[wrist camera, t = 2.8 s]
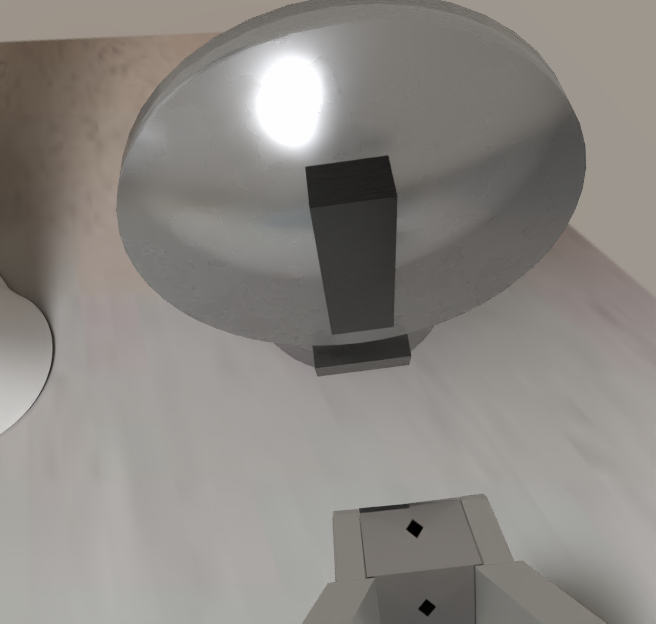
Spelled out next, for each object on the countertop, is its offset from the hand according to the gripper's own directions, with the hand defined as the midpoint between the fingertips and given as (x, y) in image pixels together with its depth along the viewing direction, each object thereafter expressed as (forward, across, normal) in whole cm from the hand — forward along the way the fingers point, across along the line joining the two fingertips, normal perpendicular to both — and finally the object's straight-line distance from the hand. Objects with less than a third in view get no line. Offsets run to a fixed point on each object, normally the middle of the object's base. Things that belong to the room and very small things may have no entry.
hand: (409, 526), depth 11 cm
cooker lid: (+16, 0, -3) cm, 16 cm away
